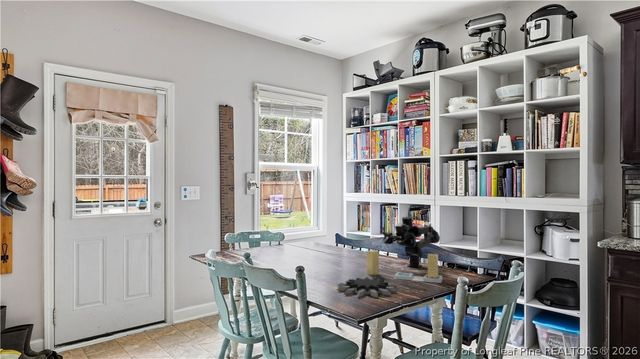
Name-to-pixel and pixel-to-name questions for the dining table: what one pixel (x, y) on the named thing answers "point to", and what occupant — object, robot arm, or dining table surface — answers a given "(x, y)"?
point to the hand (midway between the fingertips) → (391, 243)
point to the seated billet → (433, 266)
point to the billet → (373, 262)
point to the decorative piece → (367, 287)
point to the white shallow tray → (416, 277)
